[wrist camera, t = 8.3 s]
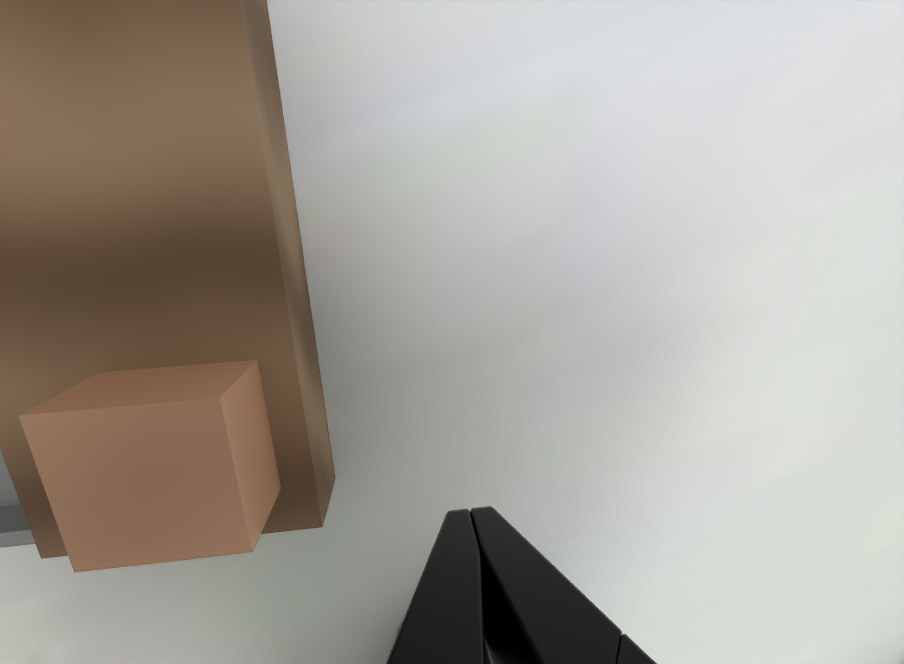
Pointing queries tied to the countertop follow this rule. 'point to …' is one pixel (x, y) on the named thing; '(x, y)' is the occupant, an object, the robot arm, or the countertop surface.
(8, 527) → the tray
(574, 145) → the countertop surface
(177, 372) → the brown square block
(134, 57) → the wood-grain board
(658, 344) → the countertop surface
